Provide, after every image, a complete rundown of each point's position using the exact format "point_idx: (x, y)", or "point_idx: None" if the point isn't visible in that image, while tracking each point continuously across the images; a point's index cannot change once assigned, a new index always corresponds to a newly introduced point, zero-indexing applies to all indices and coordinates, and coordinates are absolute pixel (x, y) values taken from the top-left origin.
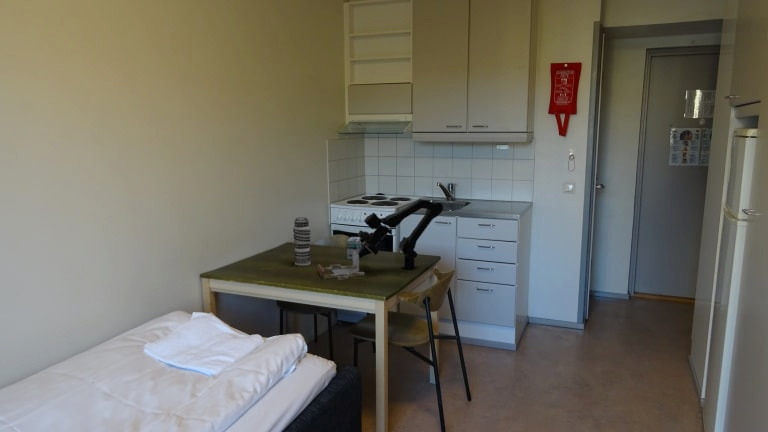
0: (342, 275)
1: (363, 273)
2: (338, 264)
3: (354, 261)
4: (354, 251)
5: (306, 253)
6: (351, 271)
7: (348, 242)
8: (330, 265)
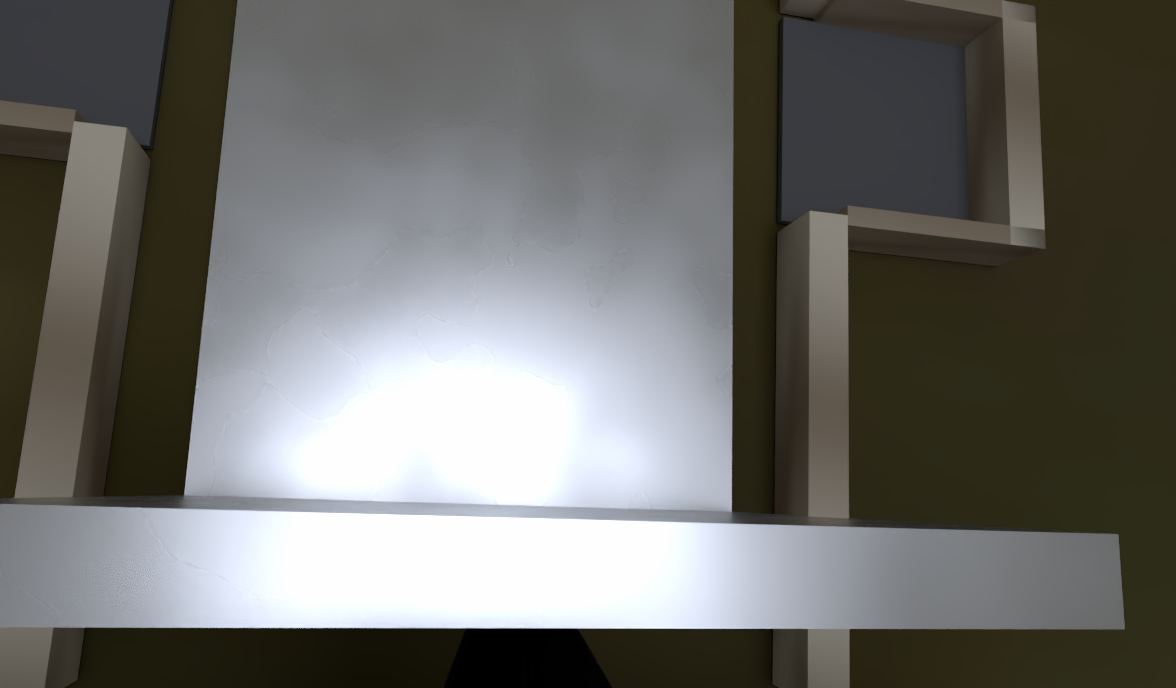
0: (235, 78)
1: (6, 655)
2: (1041, 214)
3: (594, 511)
4: (939, 594)
5: None
6: (414, 376)
7: None
8: (1002, 13)
